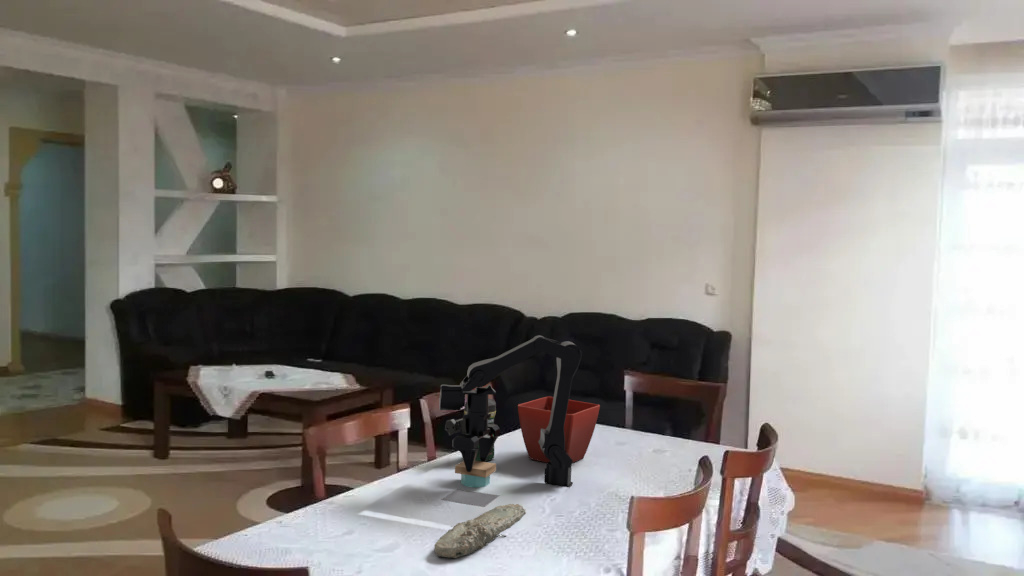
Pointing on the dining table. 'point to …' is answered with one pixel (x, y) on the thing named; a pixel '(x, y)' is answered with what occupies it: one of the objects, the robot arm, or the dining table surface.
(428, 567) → the dining table surface
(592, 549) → the dining table surface
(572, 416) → the plant pot
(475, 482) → the bowl
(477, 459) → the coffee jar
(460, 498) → the mat
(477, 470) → the lid
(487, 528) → the long grey stone
